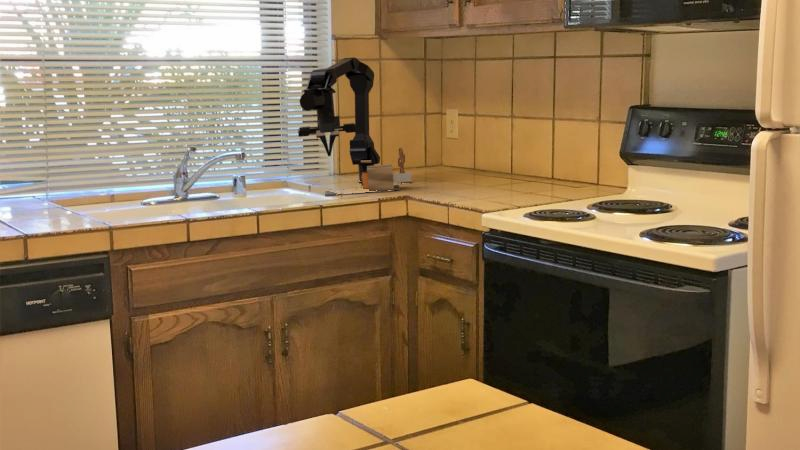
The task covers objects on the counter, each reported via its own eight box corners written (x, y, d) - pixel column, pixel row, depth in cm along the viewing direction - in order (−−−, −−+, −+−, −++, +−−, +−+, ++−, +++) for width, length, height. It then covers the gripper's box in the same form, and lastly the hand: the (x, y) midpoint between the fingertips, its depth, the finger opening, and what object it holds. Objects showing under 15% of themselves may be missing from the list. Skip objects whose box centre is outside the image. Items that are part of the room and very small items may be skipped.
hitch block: (368, 187, 300) (366, 166, 298) (392, 185, 300) (391, 164, 299) (368, 191, 290) (367, 169, 289) (393, 189, 290) (392, 167, 289)
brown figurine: (394, 181, 315) (391, 147, 313) (404, 180, 316) (402, 146, 314) (400, 184, 306) (398, 148, 304) (411, 183, 307) (409, 147, 305)
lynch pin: (361, 187, 297) (360, 171, 296) (411, 183, 298) (410, 168, 297) (361, 189, 292) (360, 173, 291) (411, 185, 293) (410, 169, 292)
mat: (326, 191, 300) (325, 190, 300) (398, 186, 301) (398, 184, 300) (325, 196, 289) (324, 194, 289) (400, 190, 290) (400, 188, 290)
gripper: (295, 111, 287) (300, 161, 289) (354, 107, 288) (358, 156, 291) (296, 110, 298) (301, 157, 300) (353, 105, 299) (357, 152, 302)
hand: (329, 156), depth 298 cm, fingers closed
